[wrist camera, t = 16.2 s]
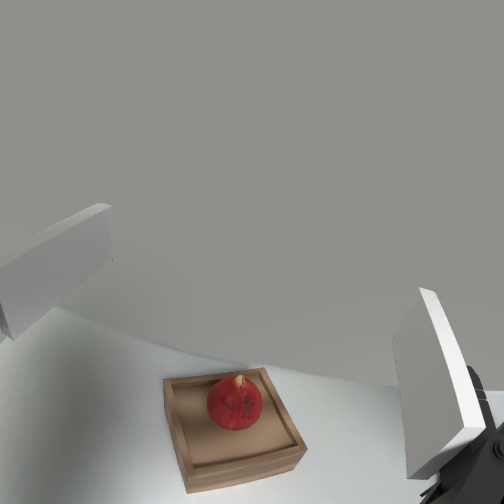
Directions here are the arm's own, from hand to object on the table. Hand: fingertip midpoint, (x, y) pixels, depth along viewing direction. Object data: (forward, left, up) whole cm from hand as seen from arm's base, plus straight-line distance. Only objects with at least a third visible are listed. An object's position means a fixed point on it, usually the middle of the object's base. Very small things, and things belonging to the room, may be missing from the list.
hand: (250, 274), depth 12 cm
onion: (+8, -5, -25) cm, 27 cm away
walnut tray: (+8, -5, -30) cm, 32 cm away
